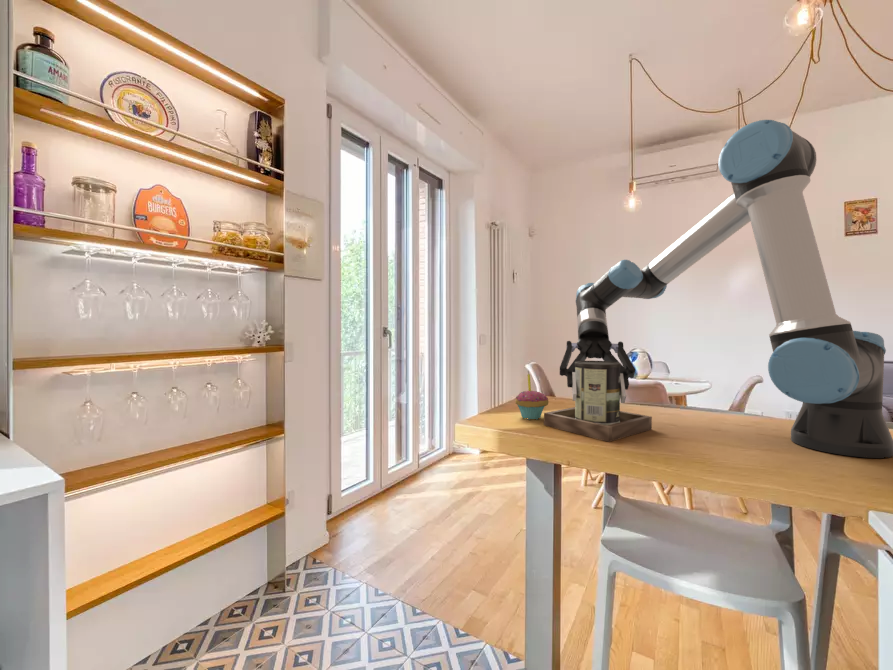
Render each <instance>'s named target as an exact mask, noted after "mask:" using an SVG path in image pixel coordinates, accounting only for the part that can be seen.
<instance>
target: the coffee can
mask: <svg viewBox="0 0 893 670" xmlns="http://www.w3.org/2000/svg"><path fill="white" fill-rule="evenodd" d="M619 362H620V361H619ZM619 362H611V361H604V360H585V361H576V362H575V376H576V392H577V395H576V401H574V402H575V403H574V404H575V405H574V407H575V419H580V420H584V421H589V422H593V423H598V424H602V425H611V424H616V423H620V411H621V408H620V405H621V399H620V367H621V365H622V363H621V362H620V363H619Z"/></svg>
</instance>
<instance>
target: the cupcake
mask: <svg viewBox="0 0 893 670" xmlns="http://www.w3.org/2000/svg"><path fill="white" fill-rule="evenodd" d="M529 372H530V371H529V370H528V371H527V385H528V386H527V388H528V390H525V391H522V392H519V394H518V395H516V396H515V401H514V402H515V404H516V405H517V407H518V410H519V412H520V414H521V415H520V416H521V418H522V417H523V418H522V419H524V418H528V419H527V420H530V419H536V420H539V419H538V418H540V419H541V417H542V414H543V410H544V409H545V408H546V407H547V406H548V405H549V402H550V401H549V398H548V397H547V395H545V394H544V393H543V392H540V391H536V390H532V387H531V385H532V384H531V382H532V381H531V374H530V373H529Z"/></svg>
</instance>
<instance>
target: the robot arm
mask: <svg viewBox="0 0 893 670" xmlns="http://www.w3.org/2000/svg"><path fill="white" fill-rule="evenodd" d="M717 162H718V163H717V164H718V169H719V172H720V175H722V177H723V178H724V179H725V180H726V181H728V182H730V183H731V187H732V191H733V192H732V193H731V194H730V195H729V196H728V197H726V198H724V200H723V201H722V202H720V203H719V204H718V205H717V206H716V207H714V209H712V210H711V211H710V212H709V213H707V214H706V215H705V216H704V217H703V218H702V219H700V220H699V221H698V222H696V223H695V225H693V226H692V227H690V228H689V229H688V230H687V231H686V232H685V233H684V234H682V235H681V236H680V237H679V238H678V239H676V240H675V241H674V242H673V243H671V244H670V245H669V246H668V247H667V248H666V249H664V250H663V251H662V252H661V253H660V254H659V255H657V256H656V257H655V258H654V259H653V260H651V261H649V263H648V264H646V266H644V267H643V268H642V269H641V268H640V267H639V266H638V265H637V264H636V263H635V262H632V261H631V260H630V259H622V260H620V261H618V262H617V263H616V264H615V265H613V266H611V267H610V269H608V270H607V271H606V272H605V273H604V274H603V275H602V276H601V277H599V279H598V280H597V281H595V282H587V283H586V284H582V285H580V286H579V287H578V289H577V290H576V296H575V305H576V316H577V317H576V319H577V338H578V339H577V342H572V341H571V340H567V341H566V346H565V348H566V350H565V352H564V355H563V357H562V360H561V363H560V365H559V376H561V377H563V376H565V377H566V380H567V381H566V383H567V384H566V385H567V388H572V389H571V390H572V392H571V393H572V401H574V402H575V401H576V395H577V392H576V376H575V362H576V361H587V359H602V361H611V362H619V363H621V367H620V404H625V402H626V397H627V393H626V390H629V386H630V381H629V378H630V379H633V378H634V377H635V375H636V368H635V366H634V365H633V363H632V361H631V359H630V357H629V356H628V353H627V352H626V351H625V349H624V342H623V341H618V342H617V343H612V341H610V336H609V327H608V322H607V321H608V320H607V312H606V310H607V309H608V308H610V307H611V306H613V305H614V304H615V303H616V302H618V301H619V300H620V299H621V298H631V299H632V298H636V299H642V300H650V299H657V298H659V297H661V296H662V295H663V294H664V293H665V291H666V289H667V286H668V284H670V283H671V282H673V281H674V280H675V279H676V278H678V277H679V276H680V275H681V274H683V273H685V272H686V271H687V270H688V269H689V268H691V267H692V266H693V265H695V264H696V263H697V262H699V261H700V260H701V259H703V258H704V257H705V256H707V255H708V254H710V253H711V252H712V251H713V250H714V249H715V248H717V247H719V246H720V245H721V244H722V243H724V242H725V241H726V240H728V239H729V238H731V236H733V235H735V234H736V233H738V232H739V230H741V229H742V228H743V227H745V226H746V225H748V224H749V223H751V224H750V225H751V227H752V232H753V235H754V236H753V237H754V239H755V244H756V248H757V253H758V257H759V259H760V260H759V261H760V264H761V268H762V272H763V275H764V276H763V277H764V280H765V284H766V288H767V291H768V296H769V300H770V304H771V307H772V311H773V315H774V320H775V323H776V325H775V327H774V328H773V329H772V331H771V332H770V333H769V334H768V335H769V340H770V344H771V349H772V354H771V355H770V357H769V359H768V360H769V361H768V365H767V370H768V375H769V377H770V379H771V381H772V383H773V385H774V386H775V387H776V388H777V389H778V390H779V391H780V392H781V393H782V394H784V395H785V396H786V397H789V398H790V399H793V400H795V401H798V402H800V403H802V404H801V407H800V409H799V412H798V414H797V416H796V418H795V419H794V422H793V425H792V427H791V429H790V440H791V442H792V443H794V444H797V445H799V446H801V447H804V448H807V449H808V448H809V449H811V450H815V451H820V452H824V453H829V454H834V455H840V456H841V455H843V456H849V457H855V458H869V459H885V458H884V457H888V458H892V457H893V436H892V434H891V431H890V428H889V427H888V425H887V421H886V420H885V416H884V412H883V397H884V395H883V394H884V371H885V368H884V367H885V366H884V365H885V364H884V363H885V355H886V352H887V349H886V347H885V340H884V338H883V337H882V335H880V334H877V333H875V332H869V331H860V330H853V326H852V323H851V321H849V320H847V319H845V318H843V317H841V316H839V315H838V314H837V312H836V308H835V306H834V302H833V298H832V293H831V291H830V286H829V283H828V279H827V276H826V273H825V269H824V265H823V261H822V258H821V254H820V250H819V248H818V243H817V240H816V236H815V233H814V229H813V226H812V225H813V224H812V221H811V218H810V214H809V211H808V208H807V203H806V201H805V196H804V193H803V192H804V191H805V189H806V188H807V186H808V185H809V184H810V182H811V176H812V175H813V174H814V173H813V172H814V170H815V168H816V166H817V165H816V164H817V152H816V149H815V147H814V146H813V144H812V143H811V142H810V141H809V140H807V139H806V138H804V137H802V136H801V135H800V134H798V133H796V132H795V131H793V130H792V128H791V127H790V126H789V125H788V124H786V123H784V122H781V121H777V120H775V119H774V120H773V119H762V120H761V119H760V120H756V121H754V122H751V123H748V124H745V125H744V126H742V127H741V128H739V129H738V130H737V131H735V132H734V133H733V134H732V135H731V136H730V137H729V138H728V140H727V141H726V143H725V144H724V146H723V147H722V148H721V151H720V153H719V156H718V161H717ZM576 349H577V350H578V351H579V353H578V355H577V356H576V357H575V359H574V360H573V361H572V363H570V360H571V358H572V354H573V353H574V351H575V350H576ZM611 350H613V351H614V353H616V355H617V357H618V359H619V360H618V359H617V358H616V357H615V356H614V355H613V354H612V352H611ZM569 363H570V366H569ZM568 366H569V367H568ZM891 456H892V457H891Z"/></svg>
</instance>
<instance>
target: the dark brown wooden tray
mask: <svg viewBox="0 0 893 670" xmlns="http://www.w3.org/2000/svg"><path fill="white" fill-rule="evenodd" d="M545 425H546V427H549V428H553V429H558V430H561V431H565V432H568V433H573V434H576V435H581V436H583V437H589V438H592V439H596V440H600V441H604V442H609V443H610V442H612V441H616V440H619V439H624V438H626V436H627V437H630V435H631V436H633V434H634V435H637V434H641V433H644V432H647V431H651V430H652V425H653V416H651V415H644V414H639V413H635V412H634V413H633V412H628V411H623V410H620V423H616V424H611V425H602V424H598V423H593V422H589V421H584V420H580V419H575V406H574V407H567V408H563V409H558V410H553V411H547V412H544V413H543V426H545ZM640 432H641V433H640ZM623 437H624V438H623Z"/></svg>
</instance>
